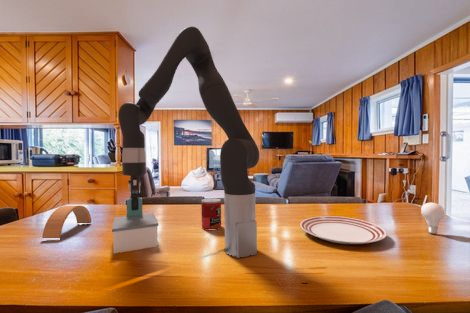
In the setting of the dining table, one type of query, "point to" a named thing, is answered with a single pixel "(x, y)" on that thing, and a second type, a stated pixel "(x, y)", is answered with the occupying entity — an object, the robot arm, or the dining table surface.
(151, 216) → the lid
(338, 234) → the dinner plate
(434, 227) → the lightbulb
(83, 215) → the arch
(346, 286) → the dining table surface
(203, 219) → the canned food
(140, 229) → the tub
